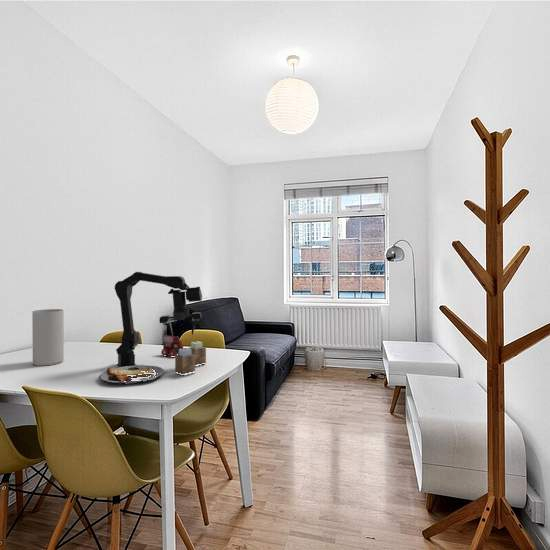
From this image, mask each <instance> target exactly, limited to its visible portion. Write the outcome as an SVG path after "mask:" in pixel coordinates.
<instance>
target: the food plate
mask: <svg viewBox="0 0 550 550" xmlns="http://www.w3.org/2000/svg"><path fill="white" fill-rule="evenodd" d="M152 369H153V370H155V372H156V375H155V376H156V377H155V376H154V377H153V375H152V374H144V372H141V371H145V372H146V373H154V372H153V370H152ZM147 371H148V372H147ZM164 372H165V369H164V368H162V367H160V366H157V365H146V364H136V365H132V366H127V367H120V366H118V367H113V366H112V367H108V368H107V370H106V371H103V372H102V373H100V374H99V375H98V379H99V380H101V381H102V382H106V383H112V384H115V383H118V384H122V383H132V384H138V383H142V382H141V381H143V382H148V381H151V380H156V378H158V377H160V376H161V375H162V374H164ZM157 373H158V374H157ZM138 374H142V375H138ZM127 375H136V376H133V377H131V376H127ZM146 375H147V376H146ZM150 375H151V378H150V379H144V380H141V381H131V380H132V379H131V378H137V377H148V376H150ZM147 380H148V381H147ZM124 381H126V382H124ZM137 382H138V383H137Z"/></svg>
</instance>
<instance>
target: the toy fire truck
mask: <svg viewBox="0 0 550 550" xmlns="http://www.w3.org/2000/svg"><path fill="white" fill-rule="evenodd" d="M162 341H163V348H162V349H161V352H160V353H161V355H162V354H163V355H168V354H169V355H170V356H175V355H177V354H179V349H183V348H184V346H183V343H182V340H181V339H180V337H179V336H178V335H177V336H174V335H173V337H172V336H171V335H163V336H162ZM169 355H168V356H169ZM170 356H169V357H170Z"/></svg>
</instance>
